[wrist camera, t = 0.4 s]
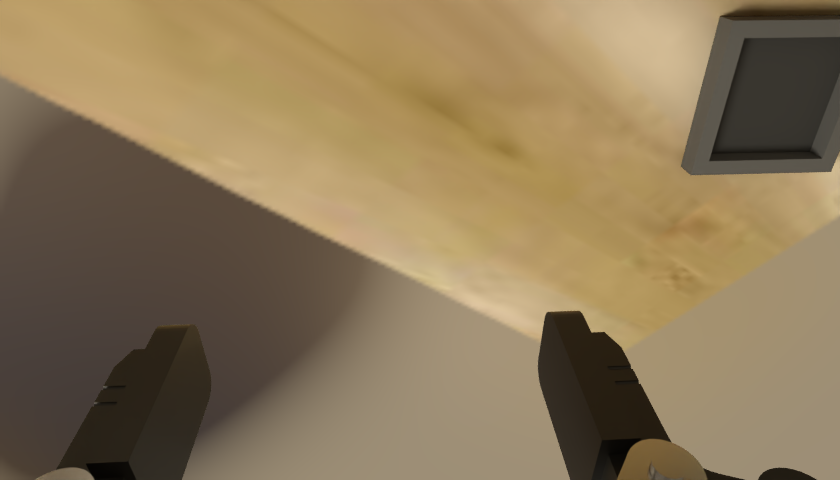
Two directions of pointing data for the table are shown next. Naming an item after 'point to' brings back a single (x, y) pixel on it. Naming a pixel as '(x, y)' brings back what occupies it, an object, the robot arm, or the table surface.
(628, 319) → the table surface
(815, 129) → the dark gray tray
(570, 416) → the robot arm
